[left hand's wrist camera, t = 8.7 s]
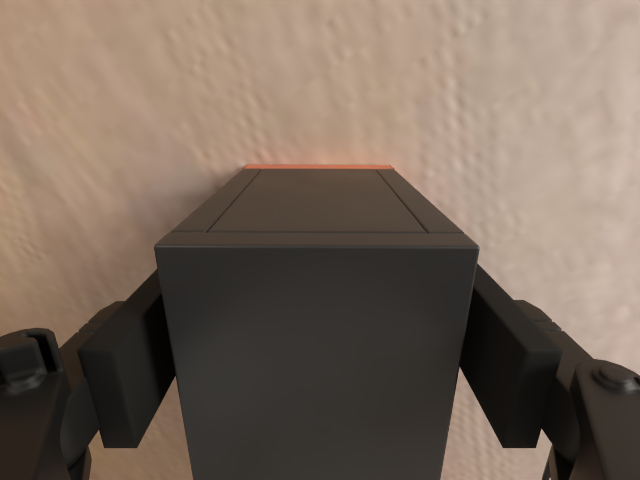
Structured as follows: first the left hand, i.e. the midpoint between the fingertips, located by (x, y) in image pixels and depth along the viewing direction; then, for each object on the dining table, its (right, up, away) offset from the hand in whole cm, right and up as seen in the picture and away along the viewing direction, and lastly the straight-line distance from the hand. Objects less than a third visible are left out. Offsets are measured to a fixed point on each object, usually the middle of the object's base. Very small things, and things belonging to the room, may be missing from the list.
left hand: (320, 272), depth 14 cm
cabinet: (0, -3, +7) cm, 7 cm away
